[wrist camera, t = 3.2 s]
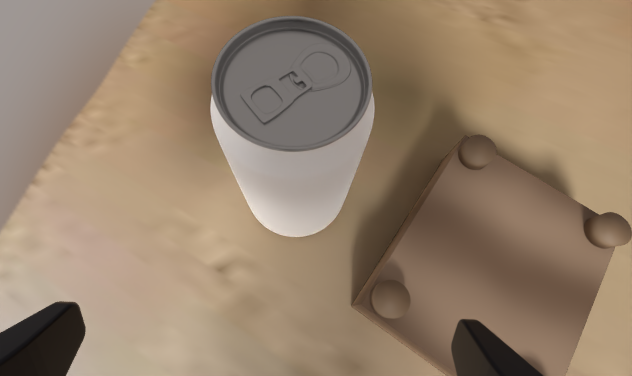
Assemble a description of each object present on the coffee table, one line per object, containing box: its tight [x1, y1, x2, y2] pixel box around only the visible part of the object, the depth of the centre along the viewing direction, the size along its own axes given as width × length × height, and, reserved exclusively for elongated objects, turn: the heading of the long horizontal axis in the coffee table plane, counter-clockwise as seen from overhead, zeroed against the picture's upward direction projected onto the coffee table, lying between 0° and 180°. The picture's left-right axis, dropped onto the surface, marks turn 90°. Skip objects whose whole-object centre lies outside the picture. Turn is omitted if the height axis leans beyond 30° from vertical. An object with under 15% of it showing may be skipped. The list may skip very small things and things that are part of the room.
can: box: [210, 16, 375, 237], centre depth 18 cm, size 6×6×12 cm
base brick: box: [352, 135, 632, 376], centre depth 20 cm, size 12×10×4 cm
